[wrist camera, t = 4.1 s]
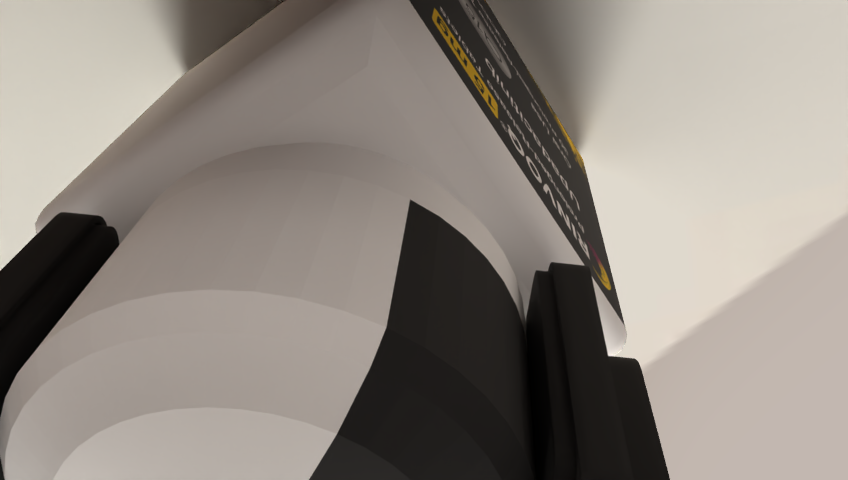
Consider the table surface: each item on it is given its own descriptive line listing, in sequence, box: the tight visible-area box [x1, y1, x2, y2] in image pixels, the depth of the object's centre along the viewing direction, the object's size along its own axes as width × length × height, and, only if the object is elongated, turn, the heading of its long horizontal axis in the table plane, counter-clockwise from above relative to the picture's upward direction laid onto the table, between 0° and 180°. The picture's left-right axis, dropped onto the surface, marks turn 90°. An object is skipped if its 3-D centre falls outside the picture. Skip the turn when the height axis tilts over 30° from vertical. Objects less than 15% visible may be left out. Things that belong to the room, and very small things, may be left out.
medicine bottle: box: [0, 0, 627, 480], centre depth 13 cm, size 7×7×12 cm
